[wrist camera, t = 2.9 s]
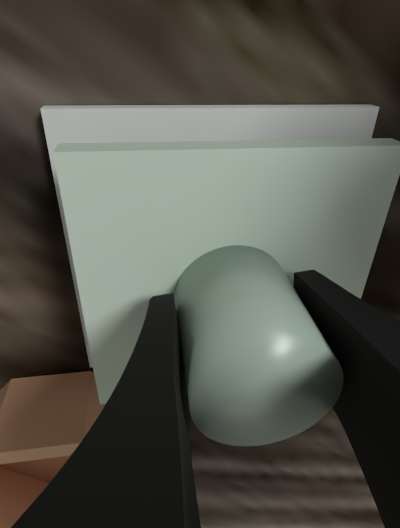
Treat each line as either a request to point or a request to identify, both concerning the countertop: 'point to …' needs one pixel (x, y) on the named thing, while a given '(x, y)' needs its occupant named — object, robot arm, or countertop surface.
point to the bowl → (40, 433)
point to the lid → (226, 264)
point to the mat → (197, 131)
